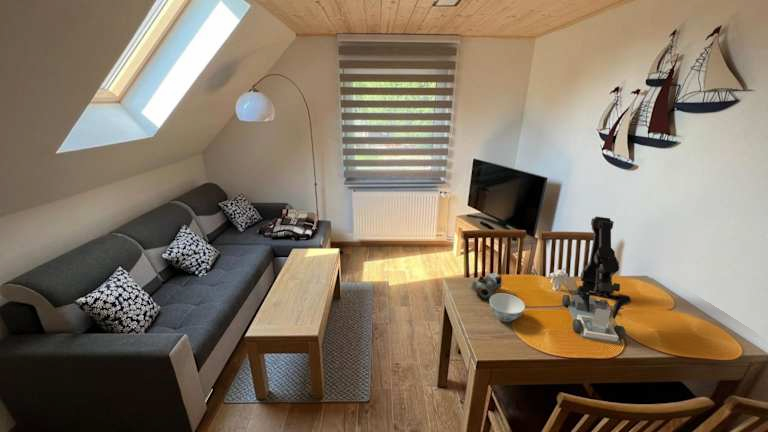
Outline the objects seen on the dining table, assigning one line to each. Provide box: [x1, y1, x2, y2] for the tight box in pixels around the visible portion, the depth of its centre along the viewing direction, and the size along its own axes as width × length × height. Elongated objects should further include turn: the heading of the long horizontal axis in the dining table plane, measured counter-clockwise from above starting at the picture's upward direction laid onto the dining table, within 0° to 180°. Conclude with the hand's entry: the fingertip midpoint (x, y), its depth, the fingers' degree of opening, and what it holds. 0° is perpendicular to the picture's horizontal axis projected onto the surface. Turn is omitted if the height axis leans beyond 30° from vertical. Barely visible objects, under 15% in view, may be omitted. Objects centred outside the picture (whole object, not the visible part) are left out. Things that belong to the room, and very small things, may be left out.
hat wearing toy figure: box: [549, 267, 569, 291], centre depth 169 cm, size 9×4×12 cm, turn 88°
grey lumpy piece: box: [470, 272, 503, 301], centre depth 166 cm, size 15×12×14 cm
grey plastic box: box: [589, 299, 612, 333], centre depth 139 cm, size 6×5×12 cm
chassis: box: [561, 294, 626, 344], centre depth 147 cm, size 27×18×5 cm, turn 165°
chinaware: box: [489, 292, 526, 323], centre depth 148 cm, size 15×15×8 cm
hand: (600, 315), depth 137 cm, fingers open, 9 cm apart
